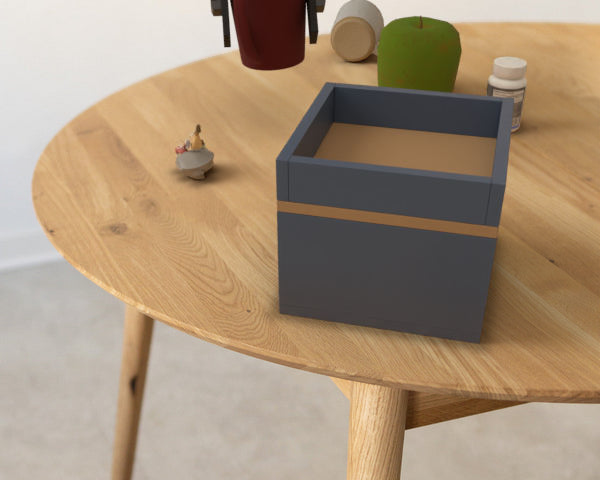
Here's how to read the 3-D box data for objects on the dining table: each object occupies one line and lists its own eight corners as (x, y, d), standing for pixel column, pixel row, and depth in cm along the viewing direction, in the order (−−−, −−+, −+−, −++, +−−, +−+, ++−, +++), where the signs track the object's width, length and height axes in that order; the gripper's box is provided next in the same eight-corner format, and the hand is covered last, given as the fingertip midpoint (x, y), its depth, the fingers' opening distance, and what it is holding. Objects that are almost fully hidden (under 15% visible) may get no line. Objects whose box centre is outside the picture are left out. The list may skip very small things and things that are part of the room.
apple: (373, 108, 105) (377, 26, 98) (376, 80, 113) (380, 3, 107) (457, 112, 103) (467, 29, 97) (454, 83, 112) (463, 5, 106)
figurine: (204, 186, 86) (200, 135, 83) (168, 181, 88) (162, 130, 84) (222, 166, 91) (219, 117, 87) (188, 161, 92) (183, 112, 88)
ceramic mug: (327, 62, 119) (329, 11, 115) (335, 46, 126) (337, -4, 121) (397, 67, 118) (401, 15, 113) (401, 50, 124) (405, 0, 120)
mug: (283, 87, 84) (275, -20, 78) (210, 80, 87) (196, -23, 80) (321, 49, 93) (317, -50, 86) (254, 44, 96) (244, -52, 89)
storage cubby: (491, 239, 77) (514, 98, 69) (479, 344, 64) (506, 184, 55) (323, 218, 81) (326, 81, 72) (279, 313, 67) (275, 159, 59)
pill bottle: (485, 117, 102) (494, 53, 97) (522, 122, 101) (533, 57, 96) (478, 130, 99) (487, 65, 94) (515, 136, 97) (527, 70, 92)
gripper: (347, -124, 93) (363, 52, 90) (165, -120, 92) (174, 59, 88) (355, -172, 86) (373, 17, 82) (157, -168, 84) (167, 25, 81)
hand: (270, 39), depth 85 cm, fingers closed on mug, 9 cm apart
